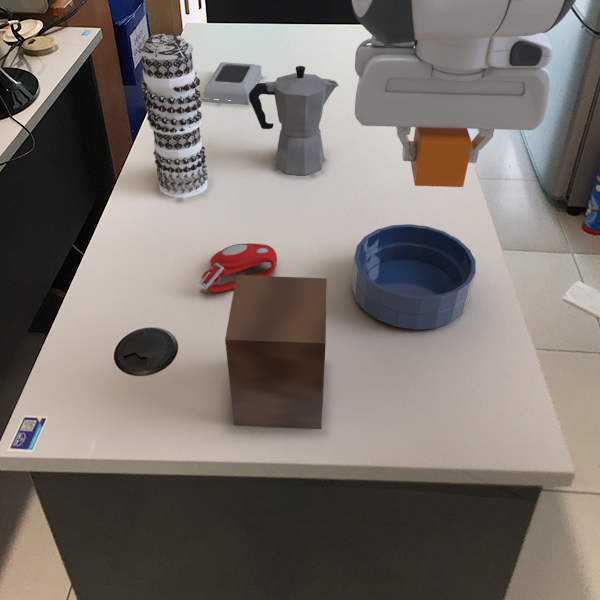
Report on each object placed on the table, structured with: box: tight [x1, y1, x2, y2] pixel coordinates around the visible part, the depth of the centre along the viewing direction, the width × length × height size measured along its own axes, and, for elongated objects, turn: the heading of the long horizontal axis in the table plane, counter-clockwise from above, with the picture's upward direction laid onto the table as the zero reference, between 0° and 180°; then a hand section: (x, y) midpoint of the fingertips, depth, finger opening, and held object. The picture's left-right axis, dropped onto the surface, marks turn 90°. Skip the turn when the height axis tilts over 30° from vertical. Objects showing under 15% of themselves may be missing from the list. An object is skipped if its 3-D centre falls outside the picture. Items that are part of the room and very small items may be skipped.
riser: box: [224, 274, 328, 430], centre depth 71 cm, size 10×10×14 cm
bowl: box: [351, 223, 477, 330], centre depth 87 cm, size 16×16×6 cm
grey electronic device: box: [203, 61, 262, 106], centre depth 139 cm, size 10×4×15 cm
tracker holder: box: [199, 243, 278, 293], centre depth 91 cm, size 12×4×10 cm
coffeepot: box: [249, 65, 340, 176], centre depth 110 cm, size 15×9×18 cm, turn 102°
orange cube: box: [410, 127, 472, 188], centre depth 72 cm, size 6×6×6 cm
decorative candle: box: [138, 33, 209, 199], centre depth 102 cm, size 9×9×25 cm
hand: (439, 159), depth 72 cm, fingers closed on orange cube, 5 cm apart
